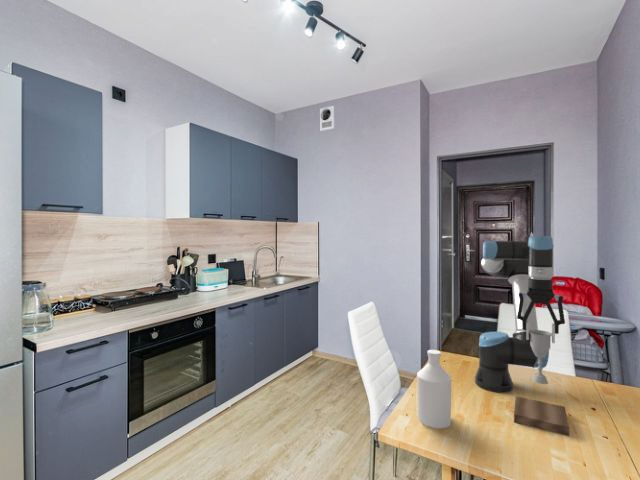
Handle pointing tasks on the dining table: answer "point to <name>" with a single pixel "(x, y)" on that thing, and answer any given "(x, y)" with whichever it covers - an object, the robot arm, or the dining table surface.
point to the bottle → (434, 393)
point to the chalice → (540, 351)
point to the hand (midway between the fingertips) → (540, 340)
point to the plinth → (541, 415)
